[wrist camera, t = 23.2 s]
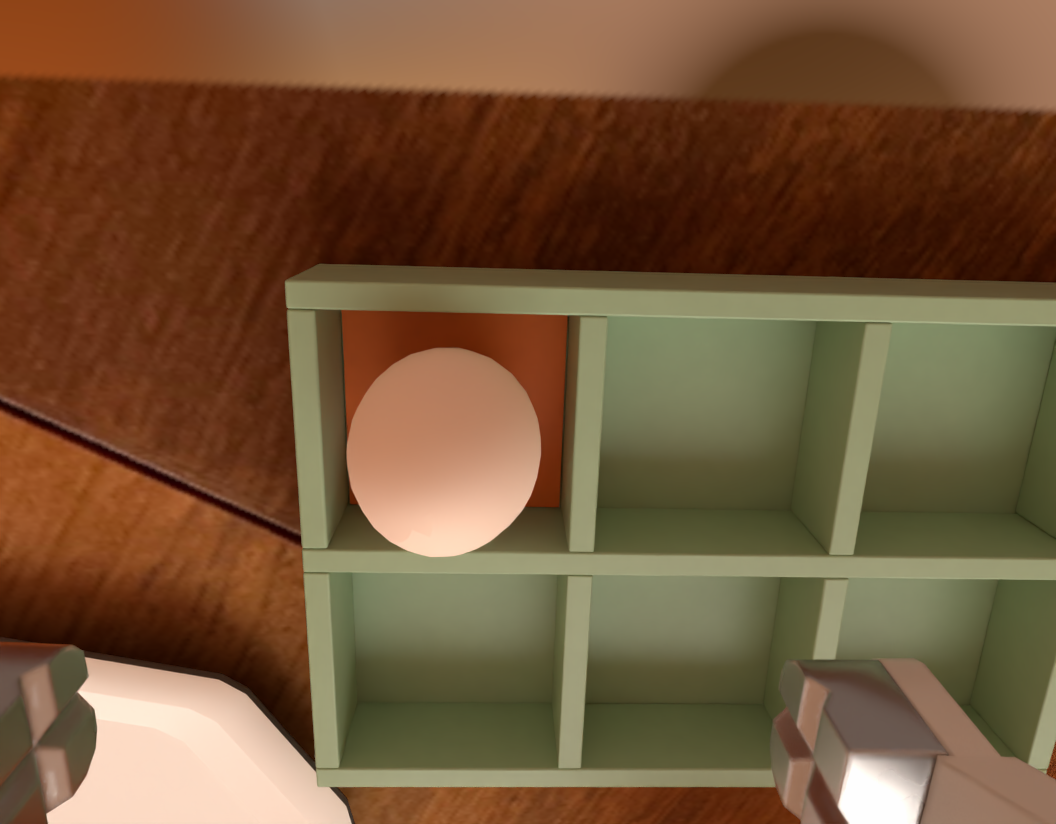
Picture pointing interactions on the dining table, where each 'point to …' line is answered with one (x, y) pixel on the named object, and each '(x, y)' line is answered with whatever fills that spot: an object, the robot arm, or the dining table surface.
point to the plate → (190, 753)
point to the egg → (443, 451)
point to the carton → (682, 519)
